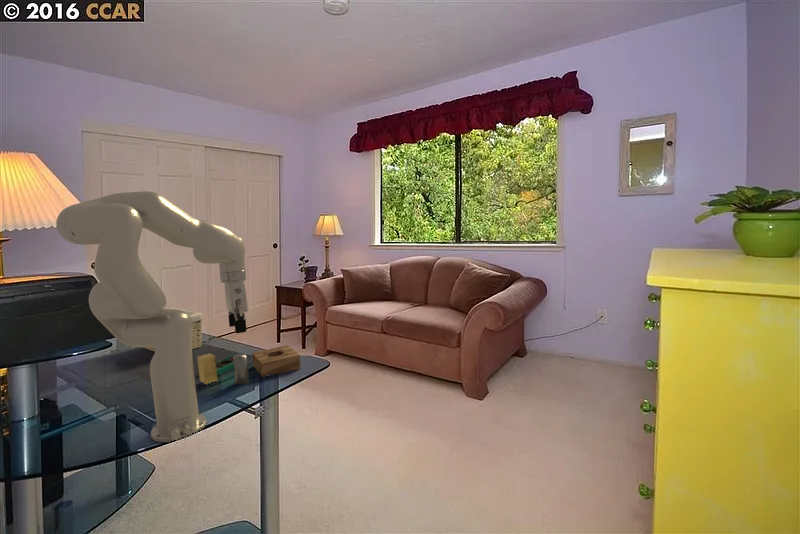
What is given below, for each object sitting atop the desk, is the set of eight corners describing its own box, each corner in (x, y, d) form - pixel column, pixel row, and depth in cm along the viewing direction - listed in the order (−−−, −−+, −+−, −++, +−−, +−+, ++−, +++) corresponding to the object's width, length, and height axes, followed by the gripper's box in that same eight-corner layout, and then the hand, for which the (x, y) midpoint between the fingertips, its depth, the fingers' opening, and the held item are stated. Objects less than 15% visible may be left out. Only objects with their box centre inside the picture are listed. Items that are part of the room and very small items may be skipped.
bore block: (300, 368, 144) (299, 354, 143) (262, 377, 137) (261, 363, 136) (288, 357, 155) (287, 345, 154) (253, 366, 148) (252, 352, 147)
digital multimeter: (249, 363, 152) (248, 355, 152) (216, 378, 139) (215, 370, 138) (234, 360, 155) (233, 353, 155) (200, 375, 142) (200, 367, 141)
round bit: (250, 382, 133) (247, 356, 132) (237, 386, 131) (234, 359, 130) (247, 378, 136) (244, 352, 135) (234, 381, 134) (231, 355, 133)
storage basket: (139, 348, 173) (134, 314, 171) (178, 338, 186) (174, 306, 184) (167, 358, 159) (162, 322, 157) (207, 346, 172) (203, 312, 170)
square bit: (217, 381, 135) (214, 355, 134) (205, 386, 132) (202, 359, 131) (212, 378, 138) (209, 353, 136) (200, 382, 135) (197, 356, 133)
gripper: (252, 278, 124) (256, 333, 126) (239, 272, 138) (244, 321, 141) (225, 280, 120) (230, 337, 122) (215, 274, 134) (220, 325, 137)
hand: (237, 329), depth 131 cm, fingers open, 9 cm apart
